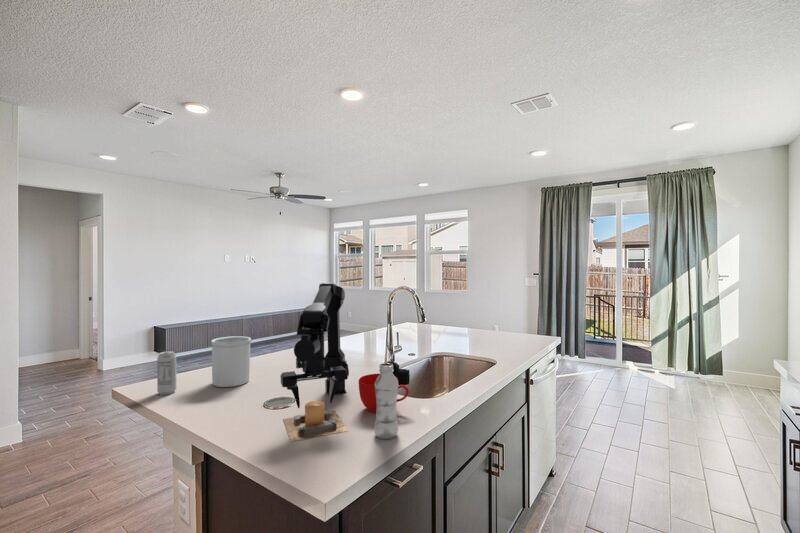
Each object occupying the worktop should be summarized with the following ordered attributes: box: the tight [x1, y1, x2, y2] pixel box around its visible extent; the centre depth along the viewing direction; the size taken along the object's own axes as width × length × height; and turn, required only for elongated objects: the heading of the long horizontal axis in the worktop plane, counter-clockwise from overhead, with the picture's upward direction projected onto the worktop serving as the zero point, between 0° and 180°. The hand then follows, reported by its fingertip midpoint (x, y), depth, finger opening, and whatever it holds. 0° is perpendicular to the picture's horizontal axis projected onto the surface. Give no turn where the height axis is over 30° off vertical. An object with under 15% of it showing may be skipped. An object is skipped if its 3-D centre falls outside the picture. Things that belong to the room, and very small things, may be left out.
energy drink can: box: [156, 350, 177, 396], centre depth 139 cm, size 6×6×15 cm
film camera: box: [386, 360, 411, 386], centre depth 147 cm, size 15×10×9 cm, turn 169°
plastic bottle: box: [373, 362, 399, 440], centre depth 103 cm, size 6×7×20 cm
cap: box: [304, 400, 325, 427], centre depth 110 cm, size 6×6×6 cm
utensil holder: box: [210, 335, 252, 388], centre depth 152 cm, size 15×15×18 cm
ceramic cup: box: [358, 373, 410, 414], centre depth 122 cm, size 13×17×10 cm
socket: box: [283, 410, 349, 443], centre depth 110 cm, size 16×16×2 cm
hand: (314, 405), depth 110 cm, fingers open, 9 cm apart
